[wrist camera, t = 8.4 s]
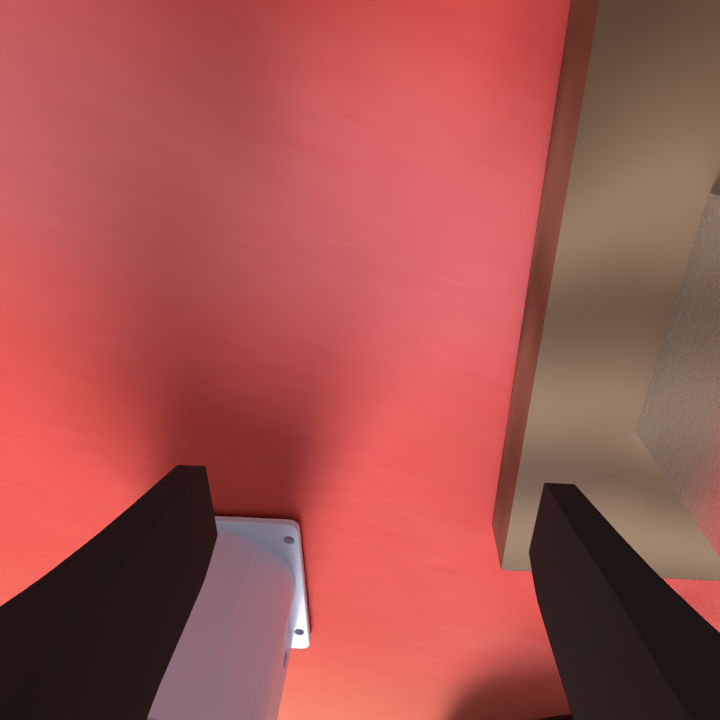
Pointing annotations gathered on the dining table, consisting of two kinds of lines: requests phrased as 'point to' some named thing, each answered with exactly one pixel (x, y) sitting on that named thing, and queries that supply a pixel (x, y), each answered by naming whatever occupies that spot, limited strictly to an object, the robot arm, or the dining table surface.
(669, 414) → the aluminium block
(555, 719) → the dark brown coffee grinder
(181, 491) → the robot arm
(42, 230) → the dining table surface
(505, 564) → the walnut plinth
